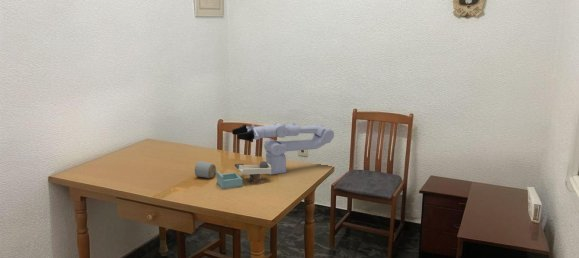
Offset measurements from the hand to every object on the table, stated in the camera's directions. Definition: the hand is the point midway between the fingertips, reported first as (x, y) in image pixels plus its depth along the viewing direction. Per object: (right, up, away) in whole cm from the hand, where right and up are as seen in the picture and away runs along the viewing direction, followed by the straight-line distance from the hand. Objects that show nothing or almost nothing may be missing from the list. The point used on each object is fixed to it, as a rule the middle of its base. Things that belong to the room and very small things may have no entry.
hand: (235, 134), depth 233 cm
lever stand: (+9, -22, 0) cm, 24 cm away
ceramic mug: (-14, -20, +7) cm, 26 cm away
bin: (-2, -23, -5) cm, 24 cm away
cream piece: (+8, -17, +2) cm, 19 cm away
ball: (+13, -15, 0) cm, 20 cm away
